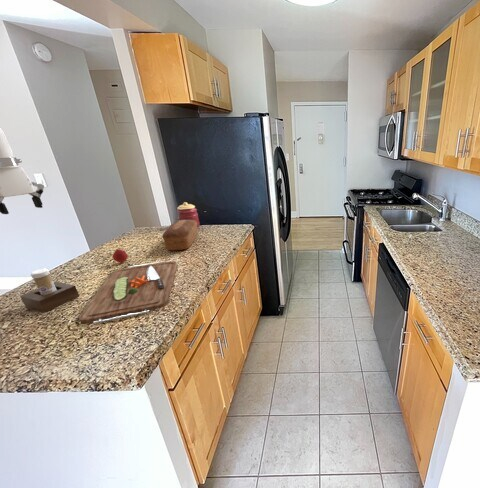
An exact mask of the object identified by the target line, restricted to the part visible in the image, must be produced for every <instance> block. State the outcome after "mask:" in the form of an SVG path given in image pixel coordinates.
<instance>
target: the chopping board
mask: <svg viewBox="0 0 480 488" xmlns="http://www.w3.org/2000/svg"><path fill="white" fill-rule="evenodd" d="M177 269H178V263H177V261H173V260H171V261H167V260H163V261H156V262H149V263H143V264H136V265H128V267H125V268H119V269H116V270H114V271H111V273H110V274H109V275H108V276H107V278H106V279H105V280H104V282H103V283H102V285H101V286H100V287H99V289H98V290H97V292H96V293H95V294H94V296H93V297H92V298H91V299H90V301H89V302H88V304H87V305H86V307H85V308H84V309H83V311H82V312H81V313H80V314H79V316H78V320H79V322H80V323H82V324H89V323H92V324H93V325H96V324H101V323H106V322H111V321H115V320H119V319H125V318H130V317H134V316H135V317H136V316H139V315H144V314H148V313H150V311H152V310H157V309H160V308H163V307H165V306H166V305H167V304H168V303H169V300H170V295H171V292H172V288H173V284H174V280H175V276H176V273H177Z"/></svg>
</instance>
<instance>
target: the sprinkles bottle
mask: <svg viewBox="0 0 480 488" xmlns="http://www.w3.org/2000/svg"><path fill="white" fill-rule="evenodd" d="M30 276H31V278H32V279H33V281H34V282H35V285H36V288H37V289H39V292H40V294H41V295H42V296H45V295H47V294H50V293H52V292H54V291H57V289H56V287H55V285H54V282H55V281H54V280H53V279H52V275H51V273H50V270H49V269H48V268H38V269H36V270H33V271H31V272H30Z"/></svg>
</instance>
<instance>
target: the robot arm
mask: <svg viewBox="0 0 480 488" xmlns="http://www.w3.org/2000/svg"><path fill="white" fill-rule="evenodd" d="M20 163H21V164H22V160H21V158H17V157H16V156H15V154H14V151H13V150H12V147H11V145H10V143H9V140H8V138H7V136H6V133H5V132H4V129H3V128H1V127H0V214H2V215H9V214H10V212H9V210H8V208H7V206H6V203H4V202H3V201H4V199H5V198H9V197H17V196H24V195H29V196H32V197H31V200H32V202H33V205H34V207H35V208H38V209H42V208H43V205H44V204H43V202H42V200H41V197H42V194H43V193H44V190H45V189H44V188H45V185H44V184H42V183H38V182H33V181H32V180H31V179H30V177H29V175H28V174H27V172H26V170H24V168H23V167H22V166H21V165H19V164H20ZM35 187H36V188H37V189H36V191H35ZM43 209H44V208H43Z"/></svg>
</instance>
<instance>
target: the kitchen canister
mask: <svg viewBox="0 0 480 488" xmlns="http://www.w3.org/2000/svg"><path fill="white" fill-rule="evenodd" d="M176 209H177V210H176V213H177V219H178V221H179V220H195V221H196V222H197V228H198V227H200V226H201V225H200V224H201V223H200V220H199V213H198V212H197V211H198V209H197V208H196V205H194V204H192V203H188V202H186V201H184V202H183V203H182V204H180V205H178V207H176Z"/></svg>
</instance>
